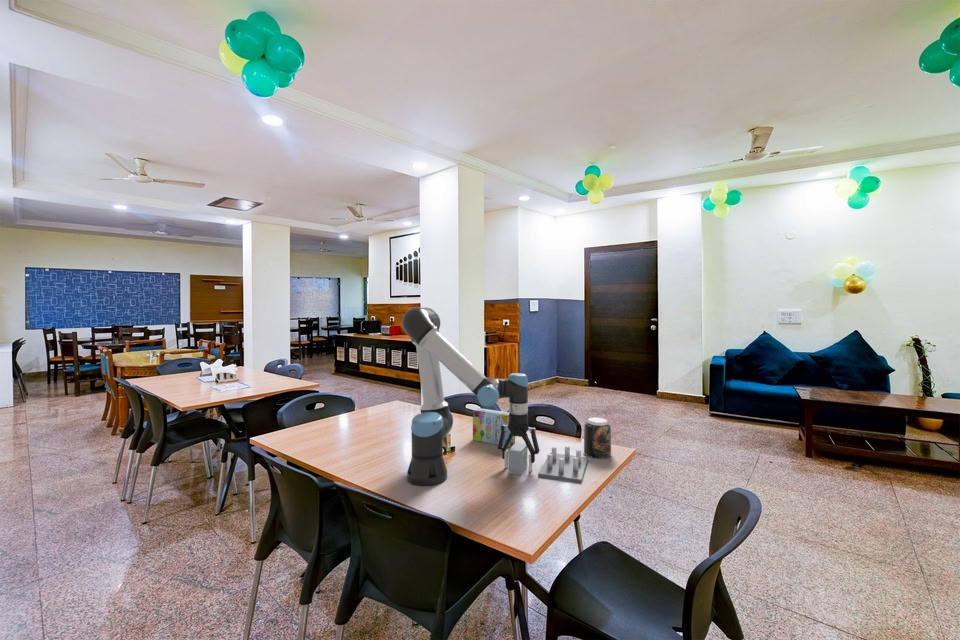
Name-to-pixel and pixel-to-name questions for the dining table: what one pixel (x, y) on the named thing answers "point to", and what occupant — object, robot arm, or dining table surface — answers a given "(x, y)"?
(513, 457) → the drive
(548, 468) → the grey peg board
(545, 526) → the dining table surface
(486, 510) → the dining table surface
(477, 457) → the dining table surface
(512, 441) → the snack box
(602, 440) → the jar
